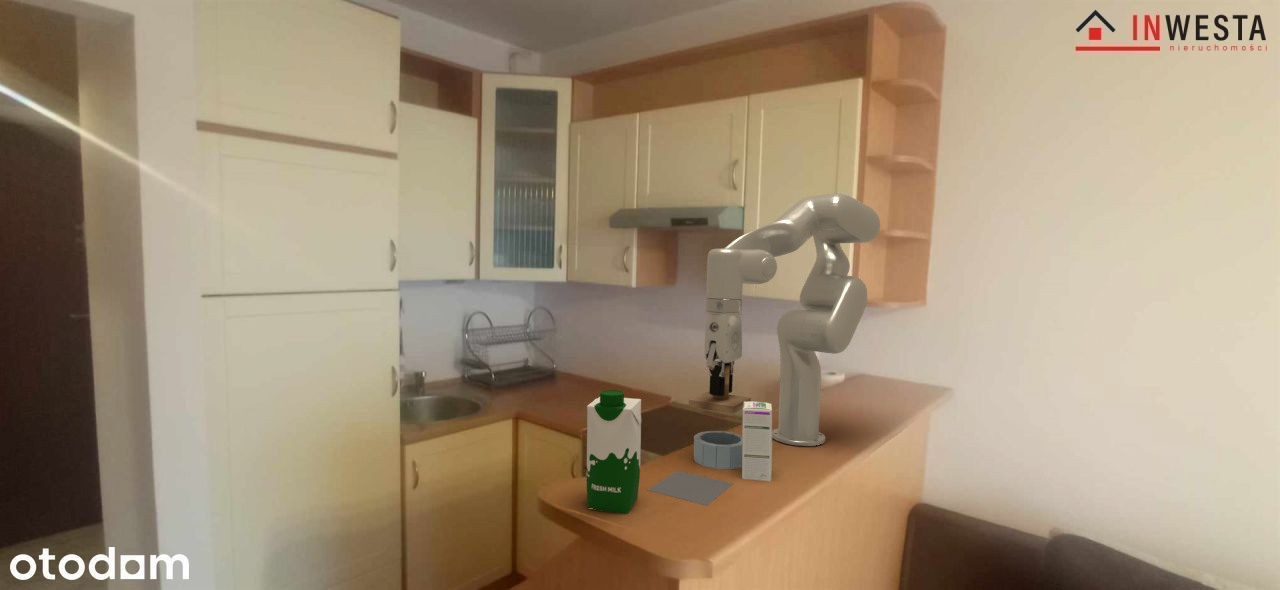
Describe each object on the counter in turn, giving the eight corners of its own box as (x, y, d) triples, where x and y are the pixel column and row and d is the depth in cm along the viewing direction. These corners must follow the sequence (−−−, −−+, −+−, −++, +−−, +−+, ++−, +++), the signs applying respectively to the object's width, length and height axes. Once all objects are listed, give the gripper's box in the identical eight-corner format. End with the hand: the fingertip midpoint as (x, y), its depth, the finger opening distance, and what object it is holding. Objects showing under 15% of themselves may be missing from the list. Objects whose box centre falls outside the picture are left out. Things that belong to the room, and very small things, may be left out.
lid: (750, 404, 120) (752, 365, 120) (733, 413, 112) (734, 371, 111) (708, 398, 125) (709, 360, 125) (688, 406, 117) (689, 366, 116)
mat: (677, 472, 112) (677, 470, 112) (733, 485, 106) (733, 483, 106) (647, 492, 102) (647, 490, 102) (707, 507, 96) (707, 505, 96)
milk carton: (580, 513, 93) (582, 393, 92) (596, 492, 101) (598, 383, 100) (631, 519, 91) (634, 397, 90) (643, 497, 99) (646, 386, 99)
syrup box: (771, 483, 107) (773, 408, 107) (740, 480, 108) (742, 406, 108) (770, 473, 113) (772, 402, 112) (741, 470, 114) (743, 400, 113)
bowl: (707, 449, 127) (707, 428, 126) (753, 459, 121) (754, 436, 121) (685, 463, 117) (685, 440, 117) (734, 474, 112) (735, 449, 111)
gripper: (725, 309, 109) (721, 403, 109) (754, 306, 123) (751, 389, 123) (690, 307, 112) (687, 397, 113) (722, 305, 127) (719, 385, 127)
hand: (720, 392), depth 118 cm, fingers closed on lid, 3 cm apart
